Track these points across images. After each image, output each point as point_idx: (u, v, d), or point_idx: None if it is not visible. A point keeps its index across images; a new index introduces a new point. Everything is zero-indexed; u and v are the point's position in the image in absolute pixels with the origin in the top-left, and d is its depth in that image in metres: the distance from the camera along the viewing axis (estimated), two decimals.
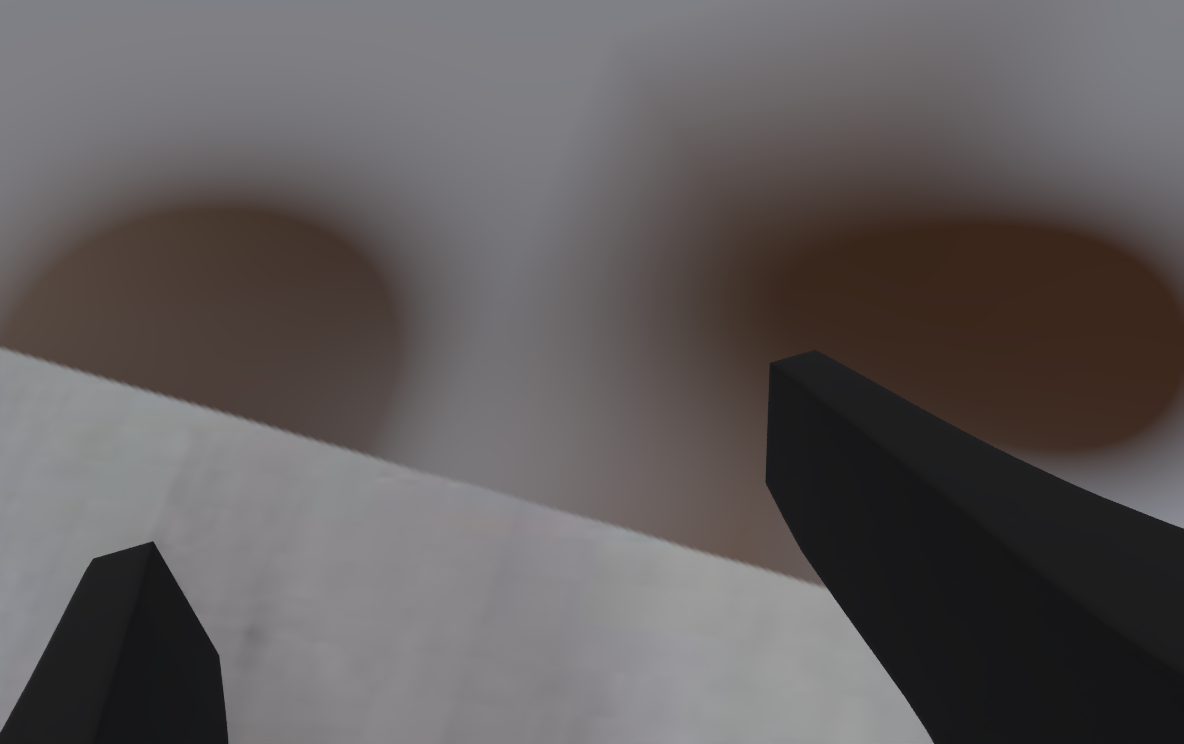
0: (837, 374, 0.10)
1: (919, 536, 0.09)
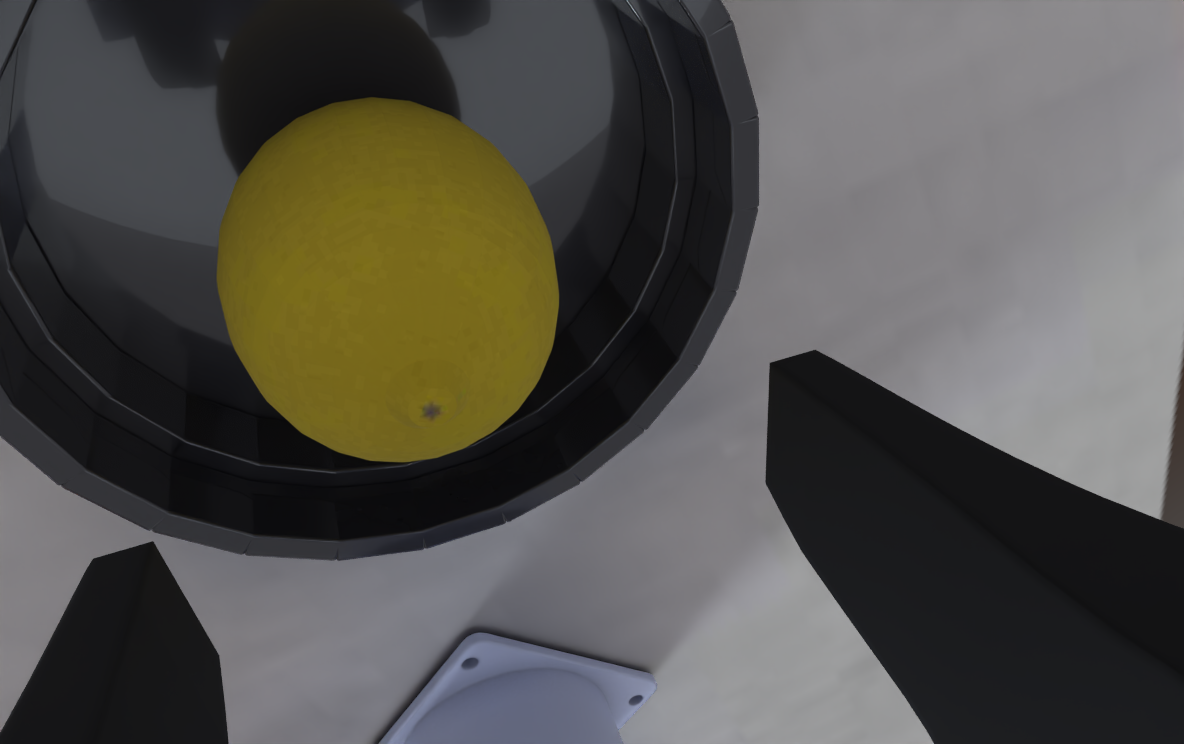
0: (837, 374, 0.10)
1: (919, 536, 0.09)
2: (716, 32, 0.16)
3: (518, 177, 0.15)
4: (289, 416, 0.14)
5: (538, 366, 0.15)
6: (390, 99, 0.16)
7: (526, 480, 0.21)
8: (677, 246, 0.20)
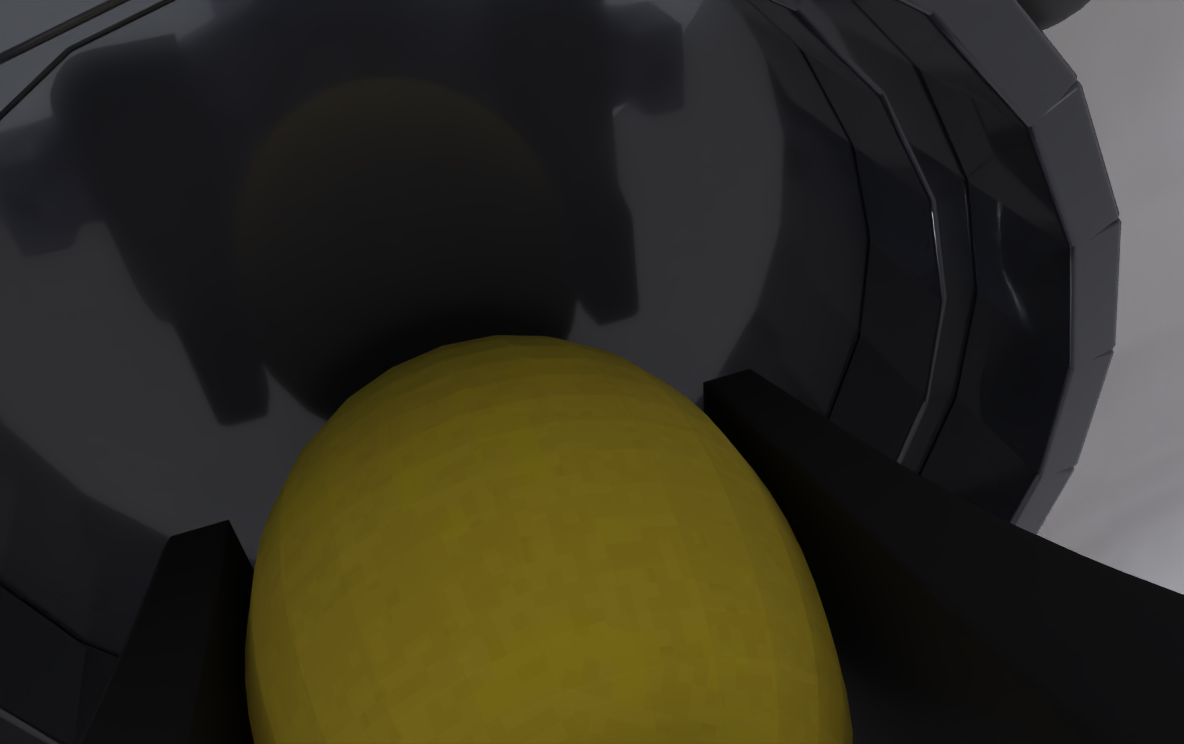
0: (767, 395, 0.10)
1: (840, 563, 0.09)
2: (1090, 238, 0.09)
3: (767, 493, 0.09)
4: None
5: None
6: (545, 349, 0.09)
7: None
8: None
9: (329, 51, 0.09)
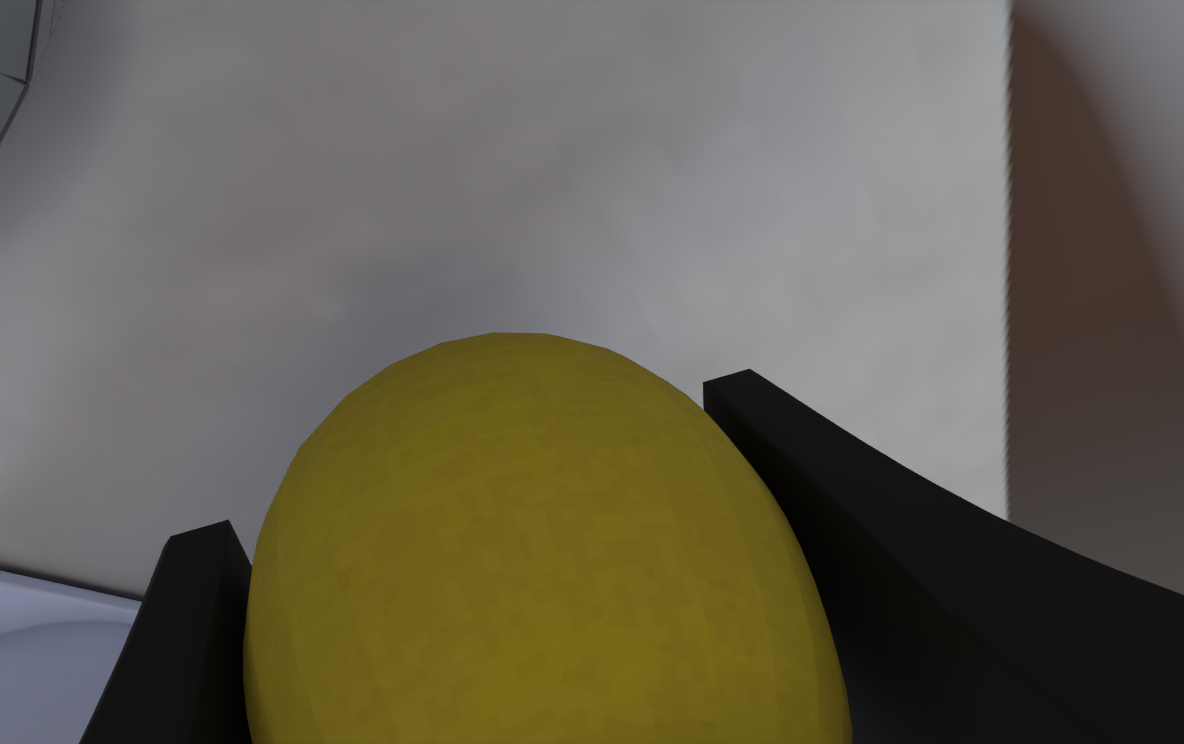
0: (767, 395, 0.10)
1: (840, 563, 0.09)
2: None
3: (766, 491, 0.09)
4: None
5: None
6: (544, 346, 0.09)
7: None
8: None
9: None
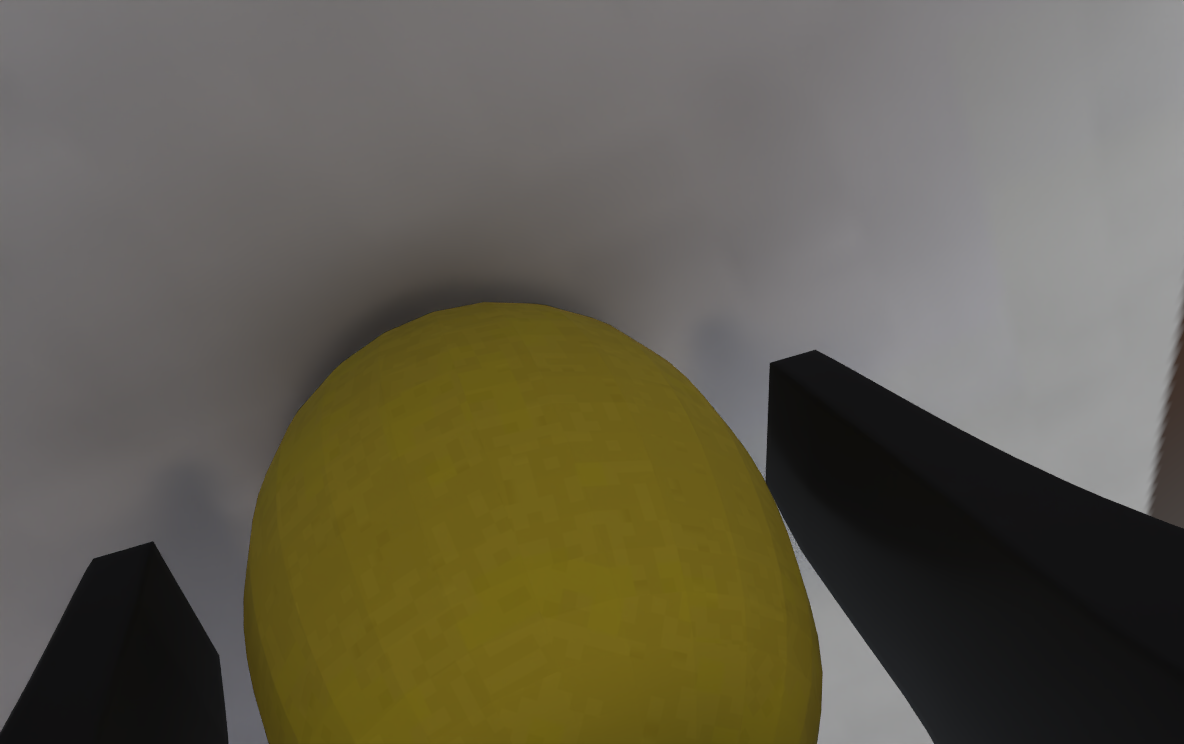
0: (837, 374, 0.10)
1: (919, 536, 0.09)
2: None
3: (743, 450, 0.09)
4: None
5: None
6: (531, 313, 0.10)
7: None
8: None
9: None
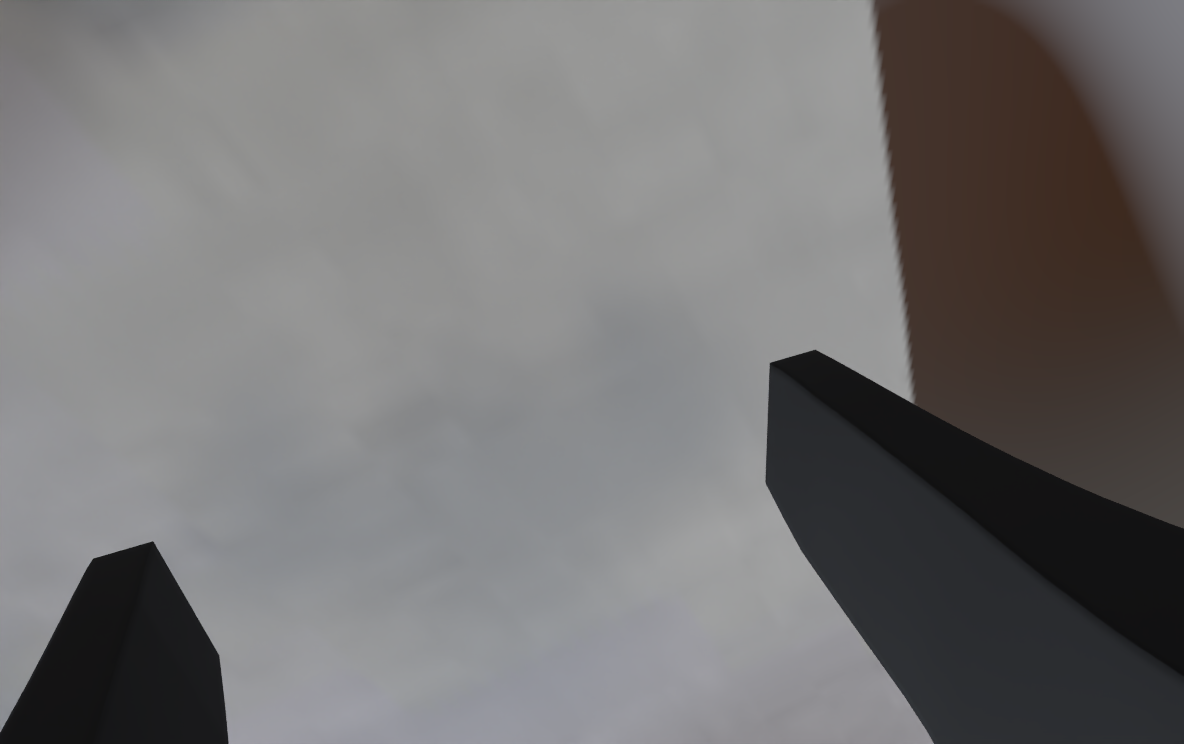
0: (837, 374, 0.10)
1: (919, 536, 0.09)
2: None
3: None
4: None
5: None
6: None
7: None
8: None
9: None
